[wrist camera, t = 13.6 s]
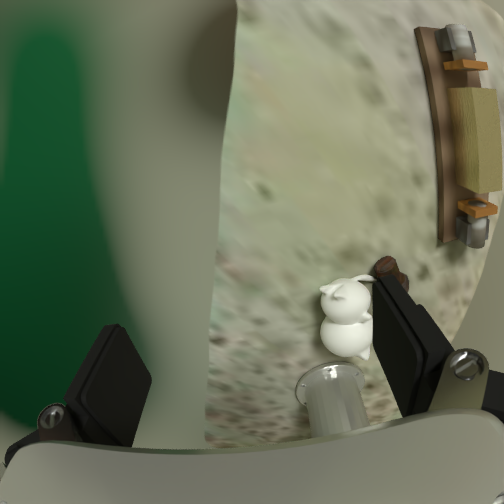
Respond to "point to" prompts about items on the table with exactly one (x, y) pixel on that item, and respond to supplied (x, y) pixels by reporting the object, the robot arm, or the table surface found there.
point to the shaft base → (438, 80)
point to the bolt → (391, 270)
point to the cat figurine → (347, 317)
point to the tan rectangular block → (476, 138)
